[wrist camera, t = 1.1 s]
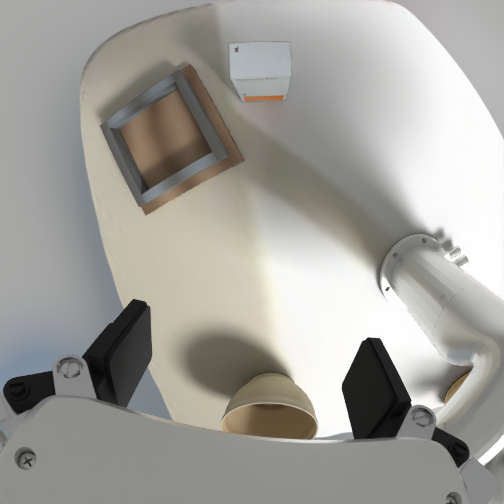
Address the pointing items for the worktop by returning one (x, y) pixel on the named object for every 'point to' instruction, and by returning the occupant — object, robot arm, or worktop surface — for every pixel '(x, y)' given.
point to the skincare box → (260, 70)
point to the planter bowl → (271, 409)
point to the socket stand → (170, 140)
